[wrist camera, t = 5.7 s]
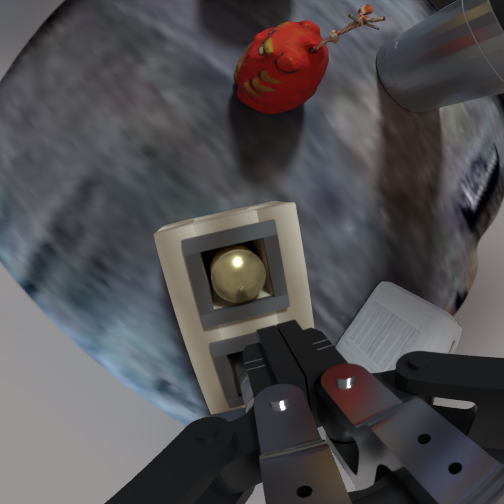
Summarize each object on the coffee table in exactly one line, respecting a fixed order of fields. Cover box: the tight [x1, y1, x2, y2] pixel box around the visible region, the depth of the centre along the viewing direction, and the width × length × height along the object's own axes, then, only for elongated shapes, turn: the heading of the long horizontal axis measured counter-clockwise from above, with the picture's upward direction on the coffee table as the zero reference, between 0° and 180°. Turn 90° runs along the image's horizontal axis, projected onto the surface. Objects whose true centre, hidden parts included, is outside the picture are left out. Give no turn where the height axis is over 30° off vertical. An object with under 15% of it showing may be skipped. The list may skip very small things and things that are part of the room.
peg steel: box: [236, 352, 254, 413], centre depth 20 cm, size 4×4×6 cm
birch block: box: [154, 201, 314, 415], centre depth 24 cm, size 10×16×7 cm, turn 12°
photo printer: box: [335, 281, 462, 373], centre depth 25 cm, size 10×4×12 cm, turn 147°
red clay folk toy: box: [233, 4, 386, 114], centre depth 17 cm, size 8×7×15 cm
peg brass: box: [209, 242, 266, 303], centre depth 23 cm, size 4×4×6 cm
